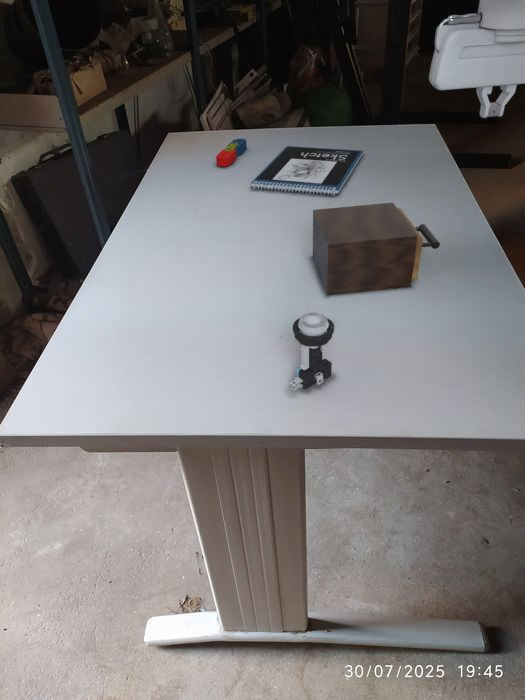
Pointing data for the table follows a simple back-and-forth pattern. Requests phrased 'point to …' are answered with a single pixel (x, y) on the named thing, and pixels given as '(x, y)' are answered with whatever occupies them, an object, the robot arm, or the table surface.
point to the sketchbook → (309, 170)
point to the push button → (312, 349)
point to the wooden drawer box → (363, 248)
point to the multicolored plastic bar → (231, 152)
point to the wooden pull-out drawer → (421, 243)
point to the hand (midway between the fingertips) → (490, 116)
